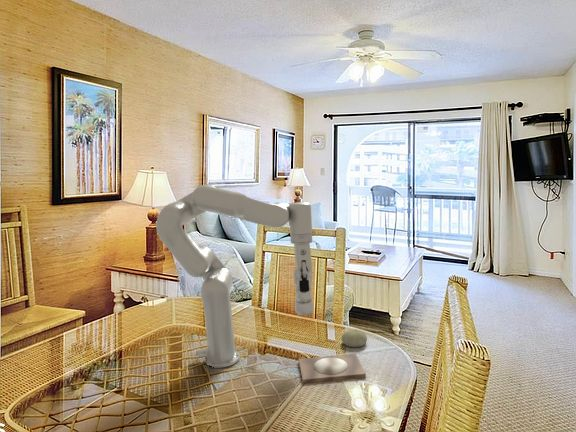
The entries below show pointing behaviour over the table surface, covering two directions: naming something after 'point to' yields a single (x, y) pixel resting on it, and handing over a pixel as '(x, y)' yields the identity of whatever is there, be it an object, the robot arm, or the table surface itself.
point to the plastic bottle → (303, 296)
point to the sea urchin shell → (354, 338)
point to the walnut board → (331, 368)
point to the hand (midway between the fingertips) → (303, 288)
